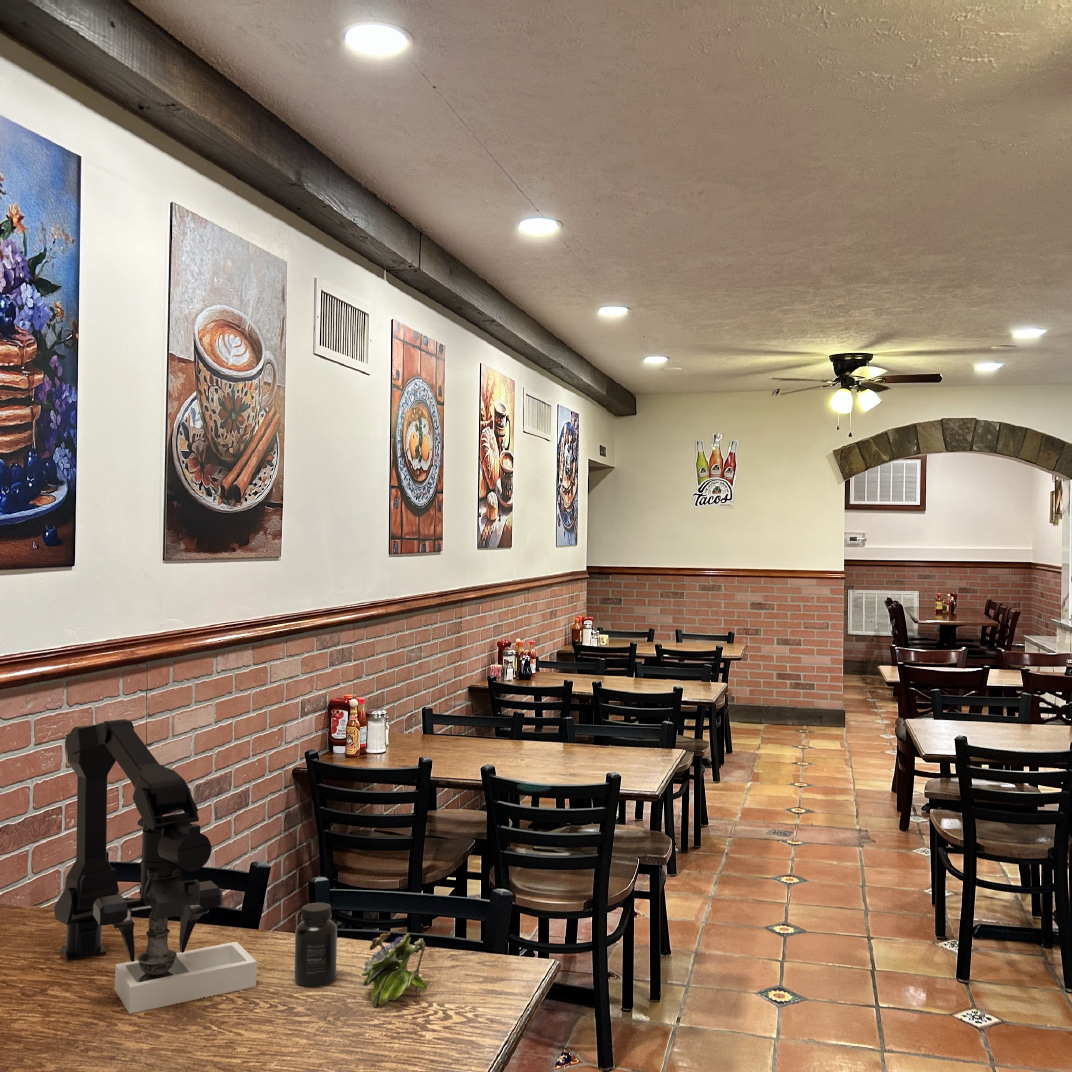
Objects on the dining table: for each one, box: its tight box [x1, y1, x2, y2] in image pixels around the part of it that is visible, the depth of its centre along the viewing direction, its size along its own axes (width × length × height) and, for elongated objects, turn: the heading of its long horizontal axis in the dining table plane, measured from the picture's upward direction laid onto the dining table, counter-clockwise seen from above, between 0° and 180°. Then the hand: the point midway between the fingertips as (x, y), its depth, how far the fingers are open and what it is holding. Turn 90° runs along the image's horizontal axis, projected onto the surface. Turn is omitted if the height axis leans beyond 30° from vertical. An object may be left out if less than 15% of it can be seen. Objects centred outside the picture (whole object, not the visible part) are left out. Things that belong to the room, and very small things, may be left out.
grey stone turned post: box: [136, 910, 177, 982], centre depth 162 cm, size 6×6×12 cm
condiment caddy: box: [114, 941, 258, 1015], centre depth 165 cm, size 10×20×4 cm, turn 124°
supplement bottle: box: [293, 902, 338, 988], centre depth 169 cm, size 7×7×12 cm
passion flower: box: [361, 932, 427, 1008], centre depth 164 cm, size 11×11×12 cm
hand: (157, 956), depth 162 cm, fingers closed on grey stone turned post, 7 cm apart
